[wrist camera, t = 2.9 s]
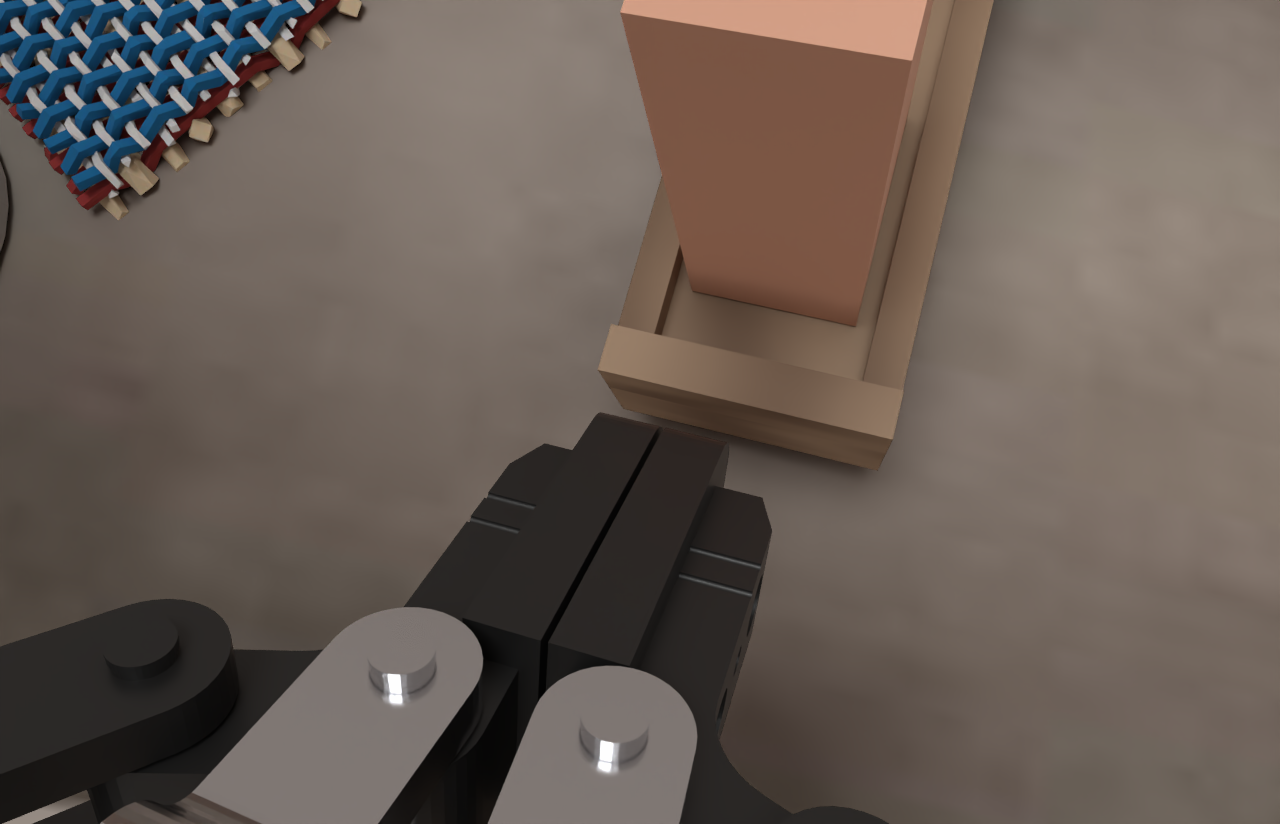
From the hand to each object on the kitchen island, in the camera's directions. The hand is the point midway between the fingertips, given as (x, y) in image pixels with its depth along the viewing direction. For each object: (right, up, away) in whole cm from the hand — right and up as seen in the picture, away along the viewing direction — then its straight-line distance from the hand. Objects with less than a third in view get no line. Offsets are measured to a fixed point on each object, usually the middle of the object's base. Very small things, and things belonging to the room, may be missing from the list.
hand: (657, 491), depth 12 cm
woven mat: (-15, +13, +20) cm, 28 cm away
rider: (+3, +5, +11) cm, 12 cm away
